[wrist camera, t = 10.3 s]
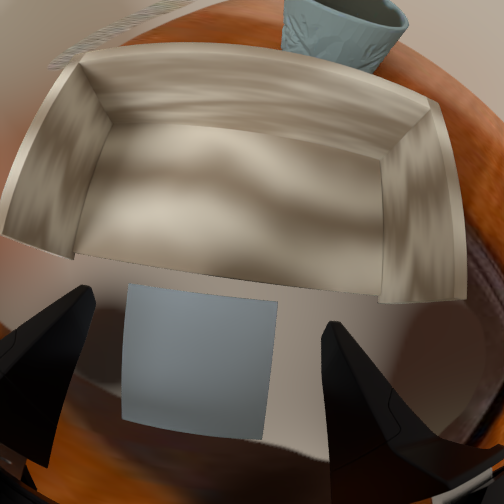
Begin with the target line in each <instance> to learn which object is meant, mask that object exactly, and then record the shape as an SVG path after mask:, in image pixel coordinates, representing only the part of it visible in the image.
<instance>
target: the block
mask: <svg viewBox="0 0 504 504" xmlns="http://www.w3.org/2000/svg"><path fill="white" fill-rule="evenodd" d="M277 306H278V302H276V301H265V300H255V299H245V298H236V297H226V296H218V295H209V294H200V293H193V292H185V291H178V290H171V289H163V288H156V287H150V286H143V285H136V284H129V286H128V294H127V303H126V313H125V324H124V338H123V354H122V419H125V420H128V421H132V422H136V423H140V424H144V425H149V426H153V427H158V428H163V429H168V430H174V431H179V432H185V433H192V434H199V435H207V436H216V437H226V438H238V439H258V440H262V435H263V428H264V420H265V413H266V406H267V398H268V390H269V381H270V373H271V364H272V355H273V346H274V336H275V327H276V317H277Z"/></svg>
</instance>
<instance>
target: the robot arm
mask: <svg viewBox="0 0 504 504" xmlns="http://www.w3.org/2000/svg"><path fill="white" fill-rule="evenodd" d="M95 307H96V301H95V298H94V294H93V291H92V288H91V287H90V286H87V285H80V286H78V287H77V288H75V289H74V290H72V291H70V292H69V293H67V294H66V295H64V296H63V297H62V298H60V299H58V300H57V301H55V302H54V303H52V304H51V305H49V306H48V307H46V308H45V309H43V310H42V311H41V312H39V313H38V314H36V315H35V316H33V317H32V318H31V319H29V320H28V321H26V322H25V323H23V324H22V325H21V326H19V327H18V328H17V329H15V330H14V331H12V332H11V333H10V334H8V335H7V336H5V337H4V338H3V339H1V340H0V504H59V503H57V502H55V501H53V500H51V499H49V498H48V497H46V496H44V495H42V494H41V493H39V492H37V488H36V486H35V484H34V482H33V480H32V477H31V475H30V473H29V471H28V468H27V466H26V465H25V464H26V460H27V459H29V460H31V461H33V462H35V463H37V464H39V465H41V466H43V467H45V468H48V464H49V459H50V454H51V450H52V445H53V441H54V437H55V433H56V429H57V424H58V420H59V417H60V413H61V410H62V406H63V403H64V400H65V396H66V393H67V390H68V387H69V384H70V381H71V378H72V375H73V372H74V369H75V366H76V364H77V361H78V358H79V356H80V353H81V350H82V347H83V345H84V343H85V340H86V337H87V333H88V330H89V326H90V323H91V320H92V317H93V313H94V310H95ZM321 364H322V365H321V373H322V385H323V394H324V403H325V412H326V423H327V434H328V447H329V460H330V471H331V472H330V478H331V499H332V504H504V466H502V467H500V468H499V469H497V470H495V471H493V472H492V468H491V467H492V466H494V465H495V464H497V463H498V462H500V461H501V460H503V459H504V446H503V445H500V444H497V445H495V446H494V447H492V448H490V449H480V448H475V447H471V446H467V445H463V444H459V443H455V442H452V441H448V440H445V439H442V438H440V437H439V436H437V435H436V434H434V433H433V432H432V431H431V430H430V429H429V428H428V427H427V426H426V425H425V424H424V423H423V421H421V419H420V418H419V417H418V416H417V415H416V414H415V413H414V412H413V411H412V410H411V409H410V408H409V407H408V405H407V404H406V403H405V402H404V401H403V400H402V398H401V397H400V396H399V395H398V393H397V392H396V391H395V390H394V388H392V386H391V385H390V383H389V382H388V381H387V379H386V378H385V377H384V376H383V374H382V373H381V372H380V371H379V369H378V368H377V367H376V366H375V364H374V363H373V362H372V360H371V359H370V358H369V357H368V355H367V354H366V353H365V352H364V351H363V349H362V348H361V347H360V346H359V344H358V343H357V342H356V341H355V339H354V338H353V337H352V336H351V334H350V333H349V332H348V331H347V329H346V328H345V327H344V326H343V325H342V323H341V322H338V321H329V322H328V324H327V326H326V328H325V330H324V332H323V334H322V337H321Z"/></svg>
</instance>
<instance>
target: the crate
mask: <svg viewBox="0 0 504 504" xmlns="http://www.w3.org/2000/svg"><path fill="white" fill-rule="evenodd" d="M0 235H1V236H4V237H6V238H9V239H11V240H14V241H17V242H20V243H22V244H25V245H28V246H30V247H33V248H36V249H39V250H42V251H44V252H47V253H50V254H53V255H56V256H59V257H62V258H66V259H71V260H74V256H75V253H78V254H83V255H88V256H94V257H99V258H105V259H110V260H116V261H122V262H127V263H133V264H140V265H146V266H151V267H157V268H164V269H170V270H176V271H183V272H189V273H197V274H203V275H209V276H216V277H224V278H230V279H238V280H245V281H252V282H260V283H268V284H275V285H283V286H292V287H300V288H308V289H317V290H326V291H335V292H344V293H353V294H363V295H375V296H378V301H377V303H380V304H405V303H422V302H437V301H450V300H462V299H467V251H466V235H465V223H464V214H463V206H462V198H461V192H460V186H459V180H458V175H457V170H456V165H455V160H454V156H453V151H452V147H451V143H450V140H449V136H448V132H447V129H446V125H445V122H444V119H443V115H442V112H441V109H440V106H439V103H437V102H435V101H433V100H431V99H429V98H427V97H425V96H423V95H421V94H419V93H416V92H414V91H412V90H410V89H408V88H405V87H403V86H401V85H398V84H396V83H393V82H391V81H388V80H386V79H383V78H381V77H378V76H375V75H372V74H369V73H367V72H364V71H361V70H358V69H355V68H351V67H348V66H345V65H341V64H338V63H334V62H331V61H327V60H323V59H319V58H315V57H311V56H306V55H302V54H297V53H292V52H286V51H281V50H275V49H268V48H261V47H254V46H245V45H235V44H222V43H197V42H178V43H153V44H140V45H130V46H122V47H115V48H108V49H102V50H97V51H91V52H86V53H81V54H76V55H74V56H73V58H72V59H71V60H70V62H69V63H68V64H67V66H66V67H65V69H64V70H63V72H62V73H61V74H60V76H59V78H58V79H57V81H56V82H55V83H54V85H53V87H52V88H51V90H50V91H49V93H48V95H47V96H46V98H45V100H44V101H43V103H42V105H41V107H40V108H39V110H38V112H37V114H36V116H35V118H34V120H33V122H32V123H31V125H30V127H29V129H28V132H27V134H26V136H25V138H24V140H23V142H22V144H21V146H20V149H19V151H18V153H17V156H16V158H15V160H14V163H13V166H12V168H11V171H10V173H9V176H8V179H7V181H6V184H5V187H4V190H3V193H2V197H1V200H0Z"/></svg>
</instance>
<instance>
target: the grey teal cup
mask: <svg viewBox="0 0 504 504" xmlns="http://www.w3.org/2000/svg"><path fill="white" fill-rule="evenodd" d="M283 16H284V24H285V25H284V26H283V29H282V43H281V48H282V51H286V52H292V53H297V54H302V55H306V56H311V57H315V58H319V59H323V60H327V61H331V62H334V63H338V64H341V65H345V66H348V67H351V68H355V69H358V70H361V71H364V72H367V73H369V74H373V72H374V71H375V70H376V69H377V67H378V66H379V64H380V63H381V62H382V61H383V60H384V57H385V56H387V54H388V53H389V51H390V49H391V48H392V47H393V46H394V45H395V43H396V42H397V41H398V39H399V38H400V37H401V36H402V34H403V33H404V32H405V30H406V29H407V28H408V26H409V23H408V20H407V18H406V16H405V14H404V13H403V12H402V11H401V10H400V9H399V8H398V7H397V6H396V5H395V4H393V3H392V2H391V1H390V0H284V14H283Z"/></svg>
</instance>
